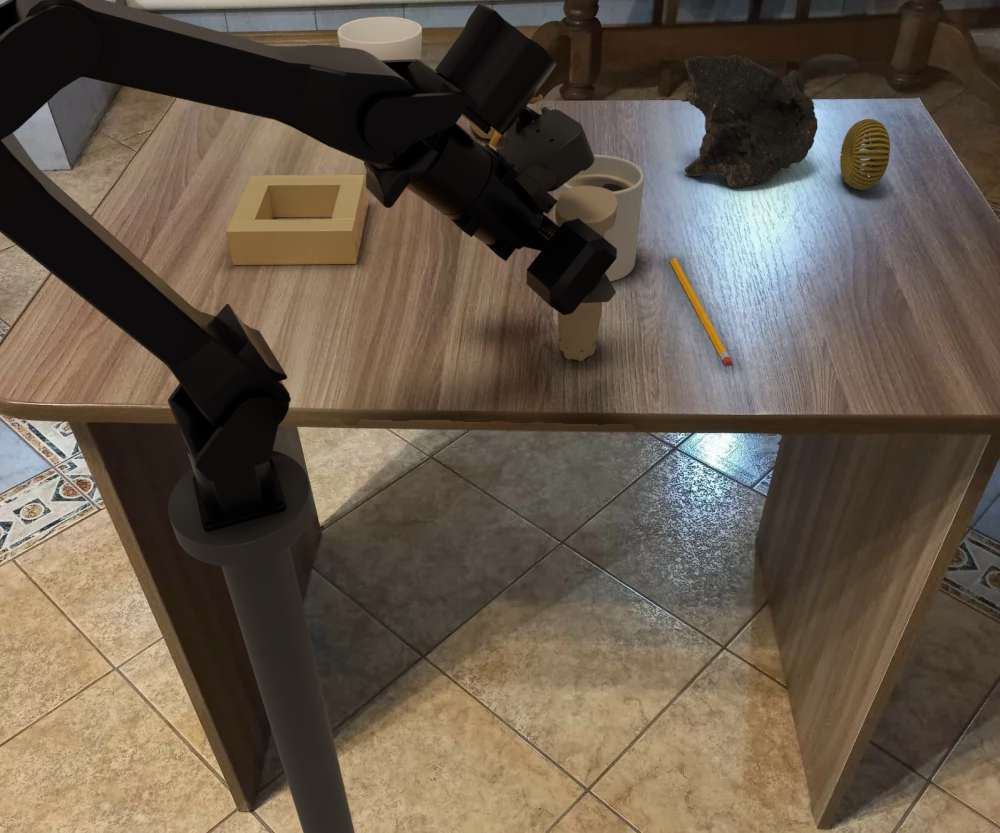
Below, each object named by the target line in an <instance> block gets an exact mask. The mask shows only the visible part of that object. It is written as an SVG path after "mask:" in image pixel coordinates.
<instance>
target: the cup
mask: <svg viewBox="0 0 1000 833" xmlns="http://www.w3.org/2000/svg"><path fill="white" fill-rule="evenodd" d="M336 32H337V39H338V43H339V47H345V48H356V49H361V50H365V51H366V52H368V53H370V54H372V55H374V56H375V57H376V58H378V59H379V60H403V59H419V60H420V61H421V57H422V49H423V47H422V46H423V45H422V44H423V28H422V26H421V24H420V23H419V22H416V21H414V20H412V19H408V18H405V17H404V18H403V17H398V16H371V17H363V18H358V19H355V20H350V21H348V22H346V23H343V24H342V25H341V26H339V27H338V29H337V31H336Z"/></svg>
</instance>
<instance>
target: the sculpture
mask: <svg viewBox="0 0 1000 833" xmlns="http://www.w3.org/2000/svg"><path fill="white" fill-rule="evenodd" d="M890 154H891V138H890V135H889V132H888V130H887V127H885V125H884V124H883V123H882V122H880V120H876V119H874V118H873V119H872V118H865V119H861V120H859V121H857V122H855V123H854V124H853V125H852V126H850V128H849V129H848V131H846V134H845V136H844V139H843V141H842V144H841V149H840V156H839V158H840V159H839V165H840V173H841V177H842V178H843V180H844V182H845V183H846V184H847V185H848V186H849V187H851V188H852V189H854V190H855V189H856V190H866V189H870V188H872V186H873V187H875V186H876V185H877V184H878V183H879V182H880V181H881V180H882V178H883V177H884V175H885V173H886V171H887V168H888V167H889V166H888V165H889V161H890V156H891V155H890ZM860 169H861V170H860ZM868 175H869V176H870V177H868ZM845 180H846V181H847V182H846V181H845Z"/></svg>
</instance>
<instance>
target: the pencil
mask: <svg viewBox="0 0 1000 833" xmlns="http://www.w3.org/2000/svg"><path fill="white" fill-rule="evenodd" d="M669 263H670V265H671V267H672V268H673V270H674V272H675V274H676V277H677V278H678V280H679V282H680V283H681V284H680V285H682V288H683V290H684V291H685V293H686V295H687V297H688V299H689V300H690V303H691V304H692V306H693V308H694V310H695V312H696V314H697V316H698V317H699V319H700V321H701V323H702V325H703V327H704V329H705V331H706V332H707V334H708V336H709V338H710V340H711V343H712V345H713V346H714V348H715V350H716V352H717V353H718V355H719V358H720V359H721V361H722V363H723V365H724V366H725V367H730V366H733V364H734V363H733V361H732V359H731V357H730V355H729V353H728V352H727V350H726V348H725V347H724V345H723V342H722V341H721V339H720V337H719V335H718V334H717V331H716V330H715V328H714V326H713V324H712V322H711V321H710V319H709V317H708V315H707V313H706V311H705V310H704V307H703V306H702V304H701V302H700V300H699V299H698V297H697V295H696V293H695V291H694V290H693V288H692V285H691V283H690V282H689V279H688V278H687V276H686V274H685V273H684V271H683V268H682V267H681V264H680V263H679V261H678V260H677V258H675V257H674V258H671V259H670V260H669Z"/></svg>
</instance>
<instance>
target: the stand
mask: <svg viewBox="0 0 1000 833" xmlns="http://www.w3.org/2000/svg"><path fill="white" fill-rule="evenodd" d="M368 209H369V202H368V193H367V188H366V174H282V175H281V174H278V175H277V174H275V175H273V174H272V175H267V174H266V175H264V174H262V175H261V174H260V175H259V174H258V175H249V178H248V180H247V182H246V184H245V186H244V189H243V191H242V193H241V195H240V198H239V200H238V202H237V205H236V207H235V209H234V211H233V214H232V216H231V218H230V221H229V223H228V225H227V227H226V230H225V235H226V239H227V244H228V248H229V253H230V258H231V262H232V265H233V266H272V265H273V266H278V265H280V266H282V265H285V266H286V265H289V266H290V265H356V264H357V262H358V258H359V253H360V248H361V242H362V237H363V233H364V228H365V222H366V217H367V214H368ZM275 218H294V219H275ZM295 218H296V219H295ZM297 218H298V219H297ZM299 218H302V219H299ZM303 218H304V219H303ZM305 218H306V219H305ZM307 218H308V219H307ZM309 218H310V219H309ZM314 218H315V219H314Z"/></svg>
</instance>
